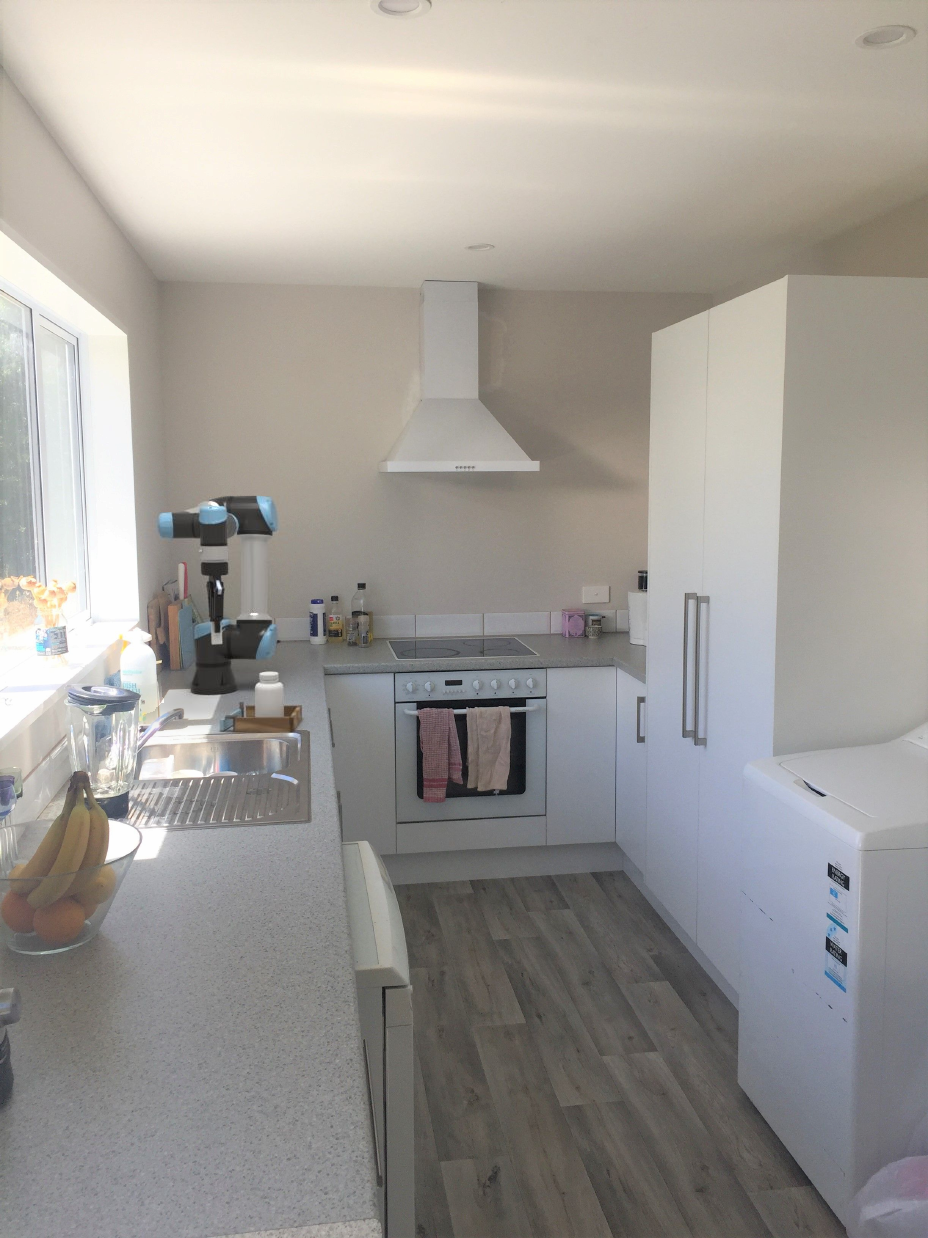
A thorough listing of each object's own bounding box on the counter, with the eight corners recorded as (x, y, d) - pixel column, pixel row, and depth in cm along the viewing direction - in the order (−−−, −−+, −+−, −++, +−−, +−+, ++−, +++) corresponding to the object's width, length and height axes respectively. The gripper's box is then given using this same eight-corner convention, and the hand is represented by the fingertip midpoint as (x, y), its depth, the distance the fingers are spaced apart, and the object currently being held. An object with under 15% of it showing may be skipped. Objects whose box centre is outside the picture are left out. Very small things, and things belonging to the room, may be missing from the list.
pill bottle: (274, 729, 264) (273, 676, 262) (249, 727, 267) (248, 674, 265) (289, 723, 272) (288, 671, 270) (265, 721, 275) (264, 669, 273)
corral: (237, 718, 277) (237, 702, 277) (302, 718, 278) (301, 701, 277) (225, 732, 261) (224, 714, 261) (293, 732, 262) (292, 714, 261)
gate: (238, 719, 275) (238, 709, 275) (241, 719, 275) (241, 709, 275) (220, 730, 262) (219, 719, 262) (223, 730, 262) (223, 720, 261)
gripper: (196, 560, 274) (199, 641, 276) (205, 562, 262) (208, 647, 265) (222, 559, 277) (225, 639, 280) (232, 562, 265) (235, 646, 268)
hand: (216, 643), depth 272 cm, fingers closed
